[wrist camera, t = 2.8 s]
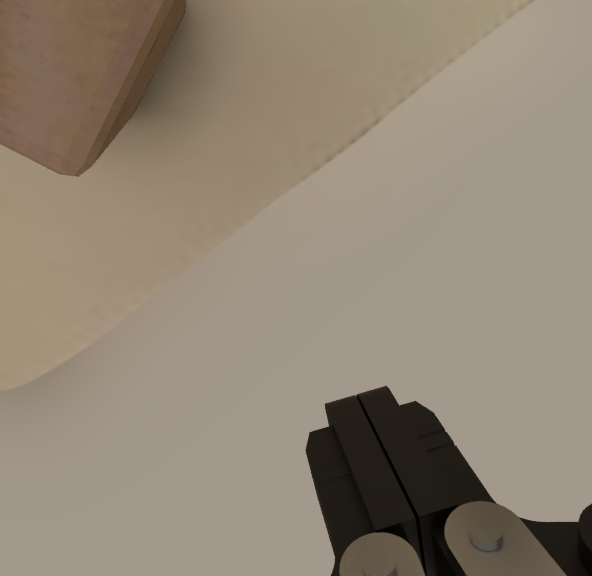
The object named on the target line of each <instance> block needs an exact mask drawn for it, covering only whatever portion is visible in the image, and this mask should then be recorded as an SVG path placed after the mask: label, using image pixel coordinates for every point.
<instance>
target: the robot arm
mask: <svg viewBox="0 0 592 576" xmlns="http://www.w3.org/2000/svg"><path fill="white" fill-rule="evenodd" d="M325 409H326V414H327V418H328V423H329V427H326V428H322V429H319V430H315V431H312V432H310V433H309V438H308V442H307V447H306V454H307V458H308V462H309V466H310V470H311V474H312V478H313V481H314V485H315V489H316V493H317V497H318V500H319V504H320V507H321V511H322V514H323V517H324V521H325V524H326V528H327V531H328V534H329V538H330V541H331V545H332V548H333V552H334V555H335V564H334V568H333V572H332V574H331V576H592V504H591V505H589V506H588V507H586V508H585V510H583V512H582V513H581V515H580V518H579V522H536V521H531V520H526V519H523V518H520V517H518V516H517V515H515V514H514V513H513V512H512V511H510V510H509V509H507V508H505V507H503V506H501V505H499V504H497V503H496V502H495V501H494V500H493V499H492V498H491V496H490V495H489V494H488V492H487V490H486V489H485V488H484V486H483V485H482V483H481V482H480V480H479V479H478V477H477V476H476V474H475V473H474V472H473V470H472V469H471V467H470V466H469V464H468V463H467V461H466V460H465V458H464V457H463V455H462V454H461V452H460V451H459V449H458V448H457V446H455V445H454V442H453V441H452V439H451V438H450V436H449V435H448V433H447V432H445V429H444V427H443V426H442V424H441V423H440V422H439V420H438V418H437V417H436V416H435V414H434V413H433V412H432V411H430V410H429V409H427V408H426V407H424V406H422V405H421V404H419V403H418V402H416V401H414V402H410V403H407V404H403V405H400V406H399V404H398V403H397V401H396V399H395V398H394V396H393V394H392V393H391V391H390V389H389V388H388V387H387V386H384V387H381V388H377V389H374V390H370V391H367V392H364V393H360V394H357V395H356V396H355V395H354V396H350V397H347V398H344V399H340V400H336V401H333V402H330V403H326V404H325Z"/></svg>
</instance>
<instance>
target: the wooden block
mask: <svg viewBox="0 0 592 576" xmlns="http://www.w3.org/2000/svg"><path fill="white" fill-rule="evenodd" d="M185 3H186V0H0V144H1V145H3V146H5V147H7V148H9V149H11V150H13V151H15V152H17V153H19V154H21V155H23V156H25V157H27V158H29V159H31V160H33V161H35V162H37V163H38V164H40V165H42V166H44V167H46V168H48V169H50V170H52V171H54V172H56V173H58V174H62V175H70V176H77V177H79V176H80V175H81V174H82V173H84V172H85V171H86V170H88V169H89V168H90V167H91V166H92V165H93V164H94V163H95V162H96V160H97V159H98V158H99V157H100V155H101V154H102V153H103V152H104V150H105V149H106V148H107V147H108V145H109V144H110V143H111V142H112V140H113V139H114V138H115V136H116V135H117V134H118V133H119V131H120V130H121V129H122V128H123V126H124V125H125V124H126V123H127V121H128V120H129V119H130V118H131V116H132V115H133V113H134V111H135V109H136V107H137V105H138V104H139V102H140V100H141V98H142V96H143V94H144V92H145V90H146V88H147V86H148V84H149V82H150V80H151V78H152V76H153V74H154V72H155V70H156V68H157V66H158V64H159V62H160V60H161V58H162V56H163V54H164V52H165V50H166V48H167V46H168V44H169V42H170V40H171V38H172V36H173V34H174V32H175V30H176V28H177V26H178V24H179V22H180V20H181V18H182V17H183V15H184V13H185Z"/></svg>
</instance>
